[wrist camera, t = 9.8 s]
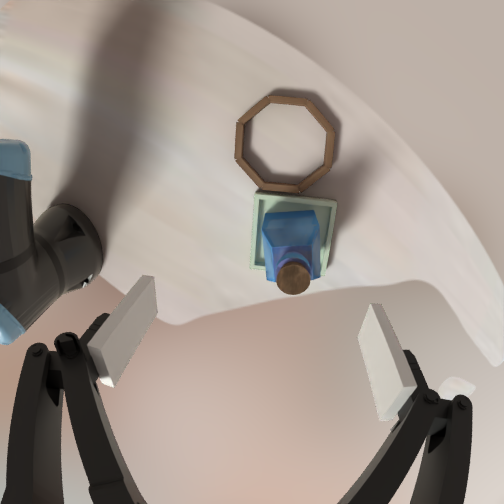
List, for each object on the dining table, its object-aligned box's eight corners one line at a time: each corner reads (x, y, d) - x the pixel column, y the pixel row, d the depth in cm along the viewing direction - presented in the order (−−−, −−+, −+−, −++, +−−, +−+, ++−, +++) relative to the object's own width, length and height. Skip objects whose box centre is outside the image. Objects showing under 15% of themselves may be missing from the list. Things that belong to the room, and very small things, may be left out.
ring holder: (234, 185, 35) (232, 187, 34) (240, 95, 31) (238, 93, 29) (326, 194, 34) (327, 196, 33) (335, 104, 30) (337, 103, 28)
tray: (250, 263, 40) (249, 268, 38) (255, 191, 35) (254, 193, 34) (323, 271, 39) (324, 276, 37) (335, 200, 35) (337, 203, 33)
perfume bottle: (265, 213, 36) (256, 251, 25) (313, 210, 35) (326, 246, 24) (269, 257, 38) (262, 309, 27) (315, 254, 37) (326, 305, 27)
